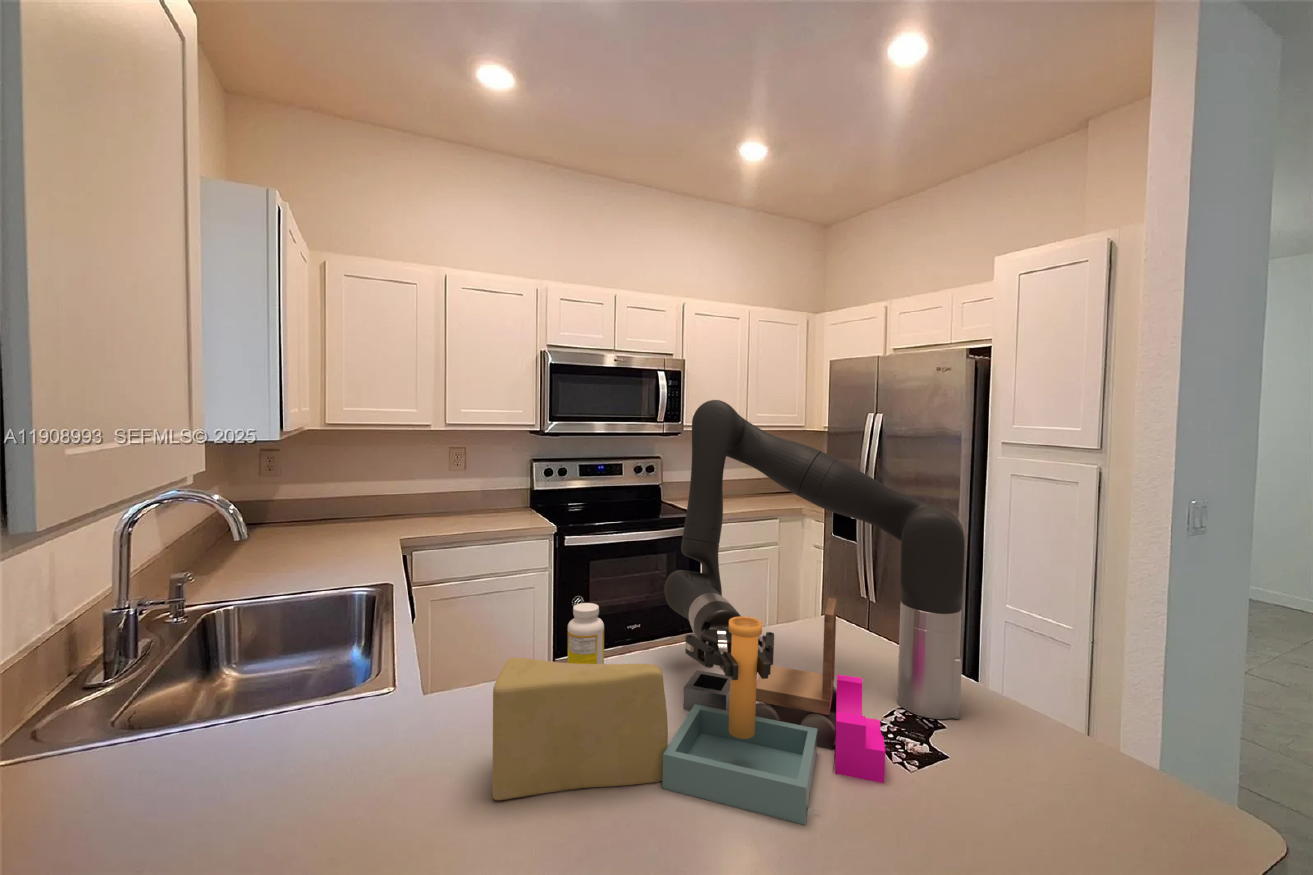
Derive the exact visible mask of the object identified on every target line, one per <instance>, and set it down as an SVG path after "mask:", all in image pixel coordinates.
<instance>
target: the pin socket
mask: <svg viewBox="0 0 1313 875" xmlns="http://www.w3.org/2000/svg"><path fill="white" fill-rule="evenodd" d="M729 703H730V677H728V676H726V675H725V674H722V673H715V672H712V671H711V672H710V671H704V670H699V669H695V671H694V672H693V674H692V675H691V677H690V678H689V679H688V681H687V682H686V684H685V685H684V687H683V705H682V706H683V707H682V710H684V711H689V712H690V711H691V709H692V708H693V706H694V705H695V704H696V705H701V706H706V707H711V708H716V709H721V710H726V711H729Z"/></svg>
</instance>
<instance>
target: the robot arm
mask: <svg viewBox="0 0 1313 875" xmlns="http://www.w3.org/2000/svg"><path fill="white" fill-rule="evenodd" d="M726 458H730V459H733V460H736V461H737V462H740V463H742V464H745V465H746V466H749V467H751V468H753V469H755V470H757V471H759V472H760V473H761V474H763V475H764V476H767V477H768V478H769V479H770V480H772V481H773V482H774V483H776V484H778V485H779V486H781V487H782V488H784V489H786V490H788V492H790V493H792V494H794V495H796V496H798V497H800V498H801V499H804V500H805V501H808V502H809V503H810V504H813V505H815V506H817V507H818V508H820V509H821V508H822V509H824V510H827V511H829V512H832V513H834V514H838V515H841V516H844V517H847V518H852V519H855V520H859V521H862V522H863V523H864V522H865V523H868V524H870V525H872V526H875V527H876V528H878V529H880V530H882V531H883V532H885V533H887V534H889V535H890V536H892V537H893V538H895V539H897V540H898V541H900V542H901V543H900V574H899V575H900V576H899V577H900V578H899V579H900V580H899V581H900V582H899V585H900V587H899V588H900V606H899V608H900V610H899V611H900V612H899V613H900V615H899V633H898V634H899V637H898V639H899V640H898V663H897V664H898V668H897V670H898V671H897V687H896V688H897V690H896V691H897V693H896V694H897V696H896V697H897V698H896V701H897V703H898V704H899V706H900V707H902V708H903V709H904V710H906V711H907V712H910V713H912V714H914V715H916V716H920V717H922V718H923V717H924V718H927V719H934V720H935V719H936V720H947V719H957V720H960V716H961V715H960V714H961V692H962V691H961V690H962V671H963V670H962V668H963V666H962V664H963V660H962V658H961V653H960V652H961V635H962V634H961V631H962V606H963V604H962V603H963V593H964V573H965V571H964V570H965V550H966V549H965V547H966V545H965V543H966V542H965V533H964V529H963V526H962V524H961V522H960V520H959V519H958V518H957V516H955V514H953V513H952V512H950V511H949V510H947V509H945V508H943V507H939V506H937V505H934V504H931V503H929V502H926V501H922V500H919V499H917V498H915V497H912V496H909V495H906V494H904V493H902V492H899V491H896V490H895V489H892V488H890V487H889V486H886V485H884V484H883V483H881V482H879V481H878V480H876V479H874V478H873V477H871V476H870V475H868V474H866V473H864V472H863V471H862V470H861V471H860V470H859V469H857V468H855V467H853V466H851V465H850V464H847V463H845V462H844V461H842V460H840V459H839V458H836V457H834V456H832V455H830V454H828V453H826V452H824V451H822V450H819V449H817V448H814V447H812V446H810V445H806V444H803V443H801V442H796V441H793V440H788V439H785V438H781V437H778V436H775V435H773V434H770V433H769V432H767V431H765V430H763V429H761V428H759V427H758V426H756V425H754V423H752V422H749V421H748V420H747V419H745V418H744V417H742V416H741V415H740V414H739V413H738V412H737V411H736V410H735V409H734V407H732V405H730V404H729V403H727V402H726V401H723V400H720V399H712V400H707V401H705V402H703V403H702V404H701V405H699V406H698V408H697V409H696V410H695V411H694V414H693V416H692V420H691V468H690V469H691V471H690V484H689V492H688V501H687V508H686V514H685V520H684V525H683V532H682V539H681V545H680V547H681V548H680V549H681V553H682V554H683V555H684V556H685V557H687V558H689V559H692V560H695V561H697V562H699V563H700V565H701V566H702V571H703V572H697V571H692V570H691V571H690V570H684V569H677V570H675V571H672V572H671V573H670V574H669V575H668V576H667V578H666V581H665V583H664V591H663V592H664V597H665V600H666V602H667V605H668V606H669V608H670V609H672V610H673V611H674V612H675V613H677V614H678V615H679V616H680V615H681V617H683V618H684V619H687V620H688V622H689V625H690V627H691V630H692V632H693V634H694V635H692V634H687V635H685V646H684V647H685V648H684V649H685V650H684V652H685V653H684V654H686V655H687V656H689V657H690V658H691V659H693V660H695V661H696V662H698V663H699V664H701V665H702V666H703V667H705V668H707V669H711V668H713V667H714V666H718V669H720V670H722V672H723V673H724V674H723V675H726V676H728V677H730V678H731V679H732V680H738V663H737V662H736V660H735V659H734V657H733V656H732V655H731V644H732V634H731V633H730V632H729V620H730V619H731V618H733V617H739V616H742V615H741V614H740V613H739V611H737V609H736V608H735V607H734V606H733V605H732V603H730V601H729V600H727V598H725V597H724V596H723V593H722V592H723V591H722V581H721V577H720V576H721V574H720V564H719V562H720V560H719V549H720V540H721V536H722V534H721V533H722V528H723V521H724V520H723V517H724V498H723V497H724V496H723V484H724V483H723V480H724V468H725V463H726ZM774 651H775V633H774V632H772V631H767V632H765V634H763V635H762V636H761V635H760V636H758V658H757V675H759V676H760V677H761V678H762V679H768V675H770V672H771V666H774V655H775V654H774V653H775V652H774Z"/></svg>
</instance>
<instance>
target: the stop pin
mask: <svg viewBox="0 0 1313 875" xmlns="http://www.w3.org/2000/svg"><path fill="white" fill-rule="evenodd" d="M729 632H730V633H731V634H732V644H731V655H732V656H733V657H734V659H735V660H736V662H737V663H738V680H732V679H731V678H730V703H729V733H730V734H731V735H732V736H734V737H736V738H740V739H748V738H751V737H753V736H754V735H755V713H756V704H757V701H756V685H757V681H758V672H757V658H758V636H761V635H762V634H763V622H762V621H761V620H760V619H757V618H755V617H751V616H745V615H744V616H742V615H741V616H739V617H733V618H731V619H730V620H729Z"/></svg>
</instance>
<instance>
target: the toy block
mask: <svg viewBox="0 0 1313 875" xmlns="http://www.w3.org/2000/svg"><path fill="white" fill-rule="evenodd" d="M836 689H837V695H836V713H835V731H836V737H835V744H834V749H835V750H834V764H835V765H834V775H840V776H845V777H850V778H855V779H860V780H865V781H869V782H875V783H880V784H885V776H886V773H885V772H886V746H885V745H886V744H885V740H884V735H882V730H881V729H882V728H881V727H882V726H881V719H876V718H870V717H866V716H865V715H863V677H857V676H851V675H844V674H836Z"/></svg>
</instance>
